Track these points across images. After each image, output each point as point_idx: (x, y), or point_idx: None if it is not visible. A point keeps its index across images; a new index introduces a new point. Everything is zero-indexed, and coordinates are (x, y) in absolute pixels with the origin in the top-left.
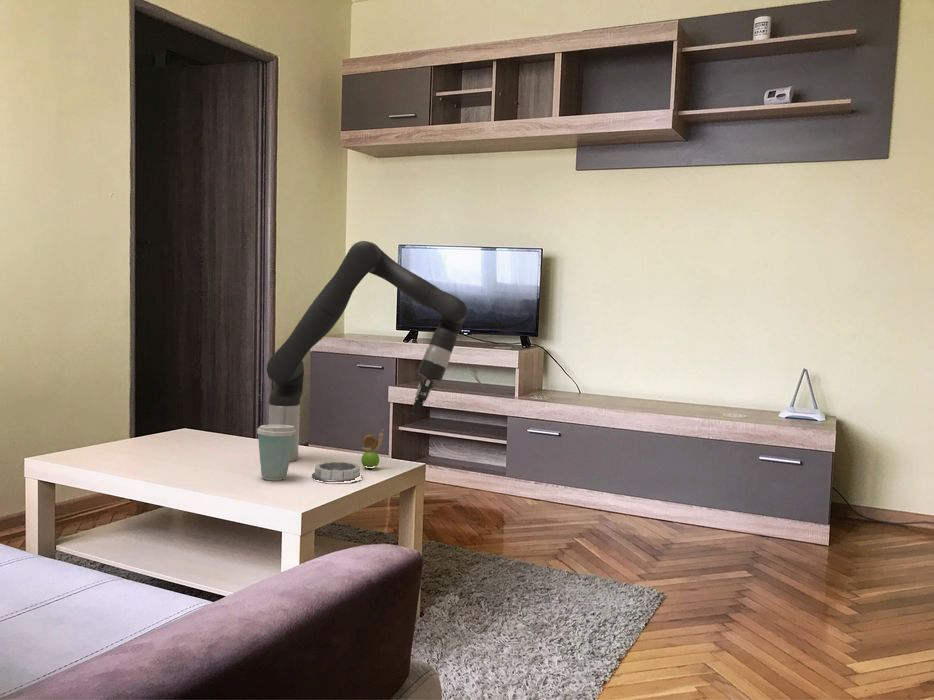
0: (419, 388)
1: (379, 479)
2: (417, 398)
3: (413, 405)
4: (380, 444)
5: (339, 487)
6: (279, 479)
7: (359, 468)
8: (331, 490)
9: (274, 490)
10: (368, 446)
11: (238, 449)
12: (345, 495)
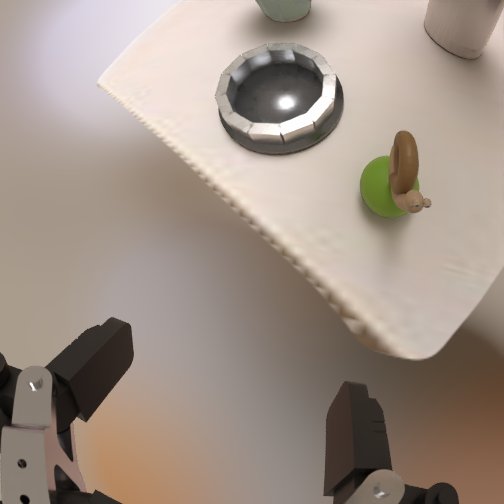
0: (4, 471)
1: (252, 198)
2: (26, 372)
3: (351, 432)
4: (398, 207)
5: (195, 106)
6: (268, 16)
7: (246, 132)
8: (178, 95)
9: (203, 24)
10: (394, 161)
11: None
12: (142, 121)
